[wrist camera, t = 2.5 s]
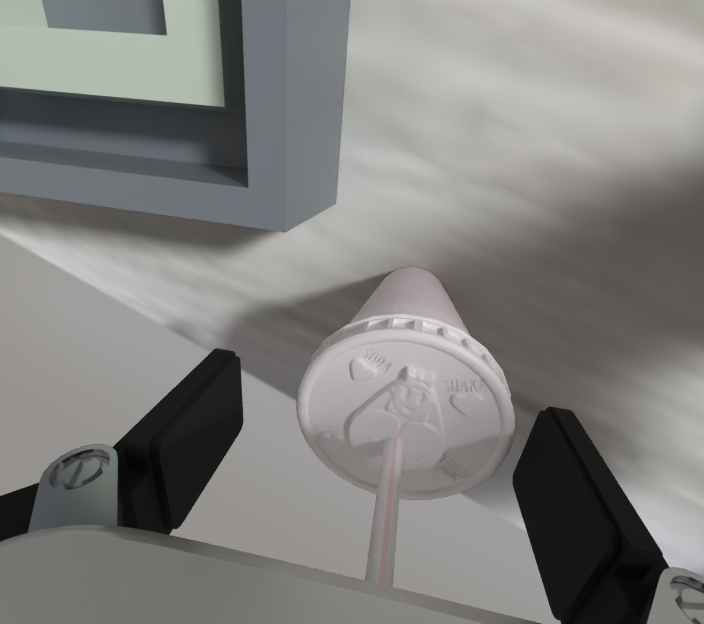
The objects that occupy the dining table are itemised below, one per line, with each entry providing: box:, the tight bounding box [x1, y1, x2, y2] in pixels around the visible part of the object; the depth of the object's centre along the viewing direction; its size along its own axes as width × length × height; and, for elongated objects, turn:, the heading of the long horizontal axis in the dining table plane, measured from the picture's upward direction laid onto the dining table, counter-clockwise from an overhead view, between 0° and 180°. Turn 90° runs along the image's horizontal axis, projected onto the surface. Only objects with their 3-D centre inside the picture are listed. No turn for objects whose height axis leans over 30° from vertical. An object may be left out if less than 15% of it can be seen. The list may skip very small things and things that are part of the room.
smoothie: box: [297, 267, 515, 587], centre depth 12 cm, size 6×6×14 cm
